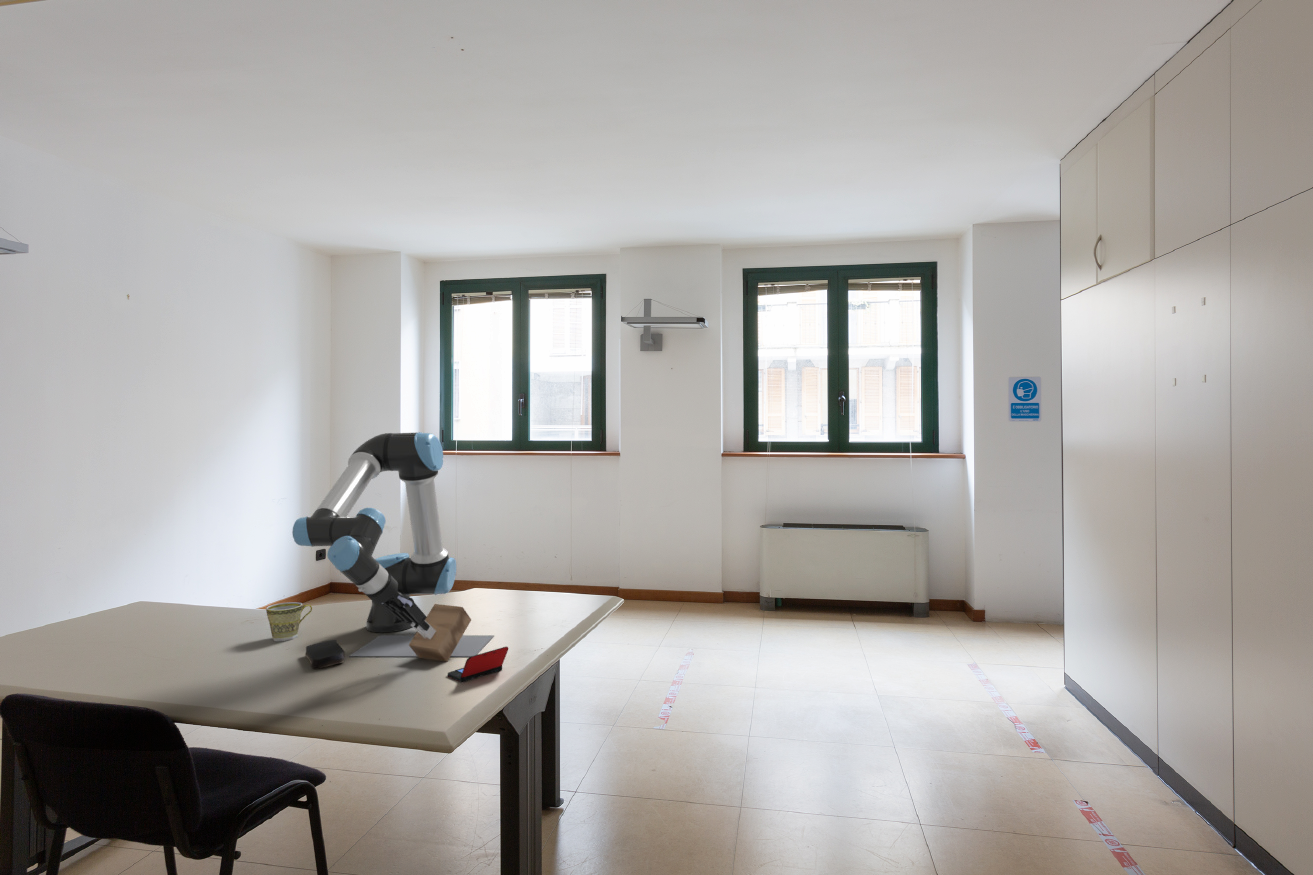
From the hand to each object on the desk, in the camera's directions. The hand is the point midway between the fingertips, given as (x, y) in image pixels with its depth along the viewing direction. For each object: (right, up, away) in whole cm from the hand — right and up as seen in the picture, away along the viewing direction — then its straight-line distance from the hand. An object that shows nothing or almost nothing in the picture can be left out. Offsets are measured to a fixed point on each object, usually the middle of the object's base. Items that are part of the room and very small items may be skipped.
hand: (430, 634), depth 199 cm
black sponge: (-30, -8, +2) cm, 31 cm away
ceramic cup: (-51, -8, +25) cm, 58 cm away
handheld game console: (+16, -8, -12) cm, 21 cm away
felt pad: (-6, -7, +14) cm, 17 cm away
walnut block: (0, -5, -1) cm, 5 cm away
